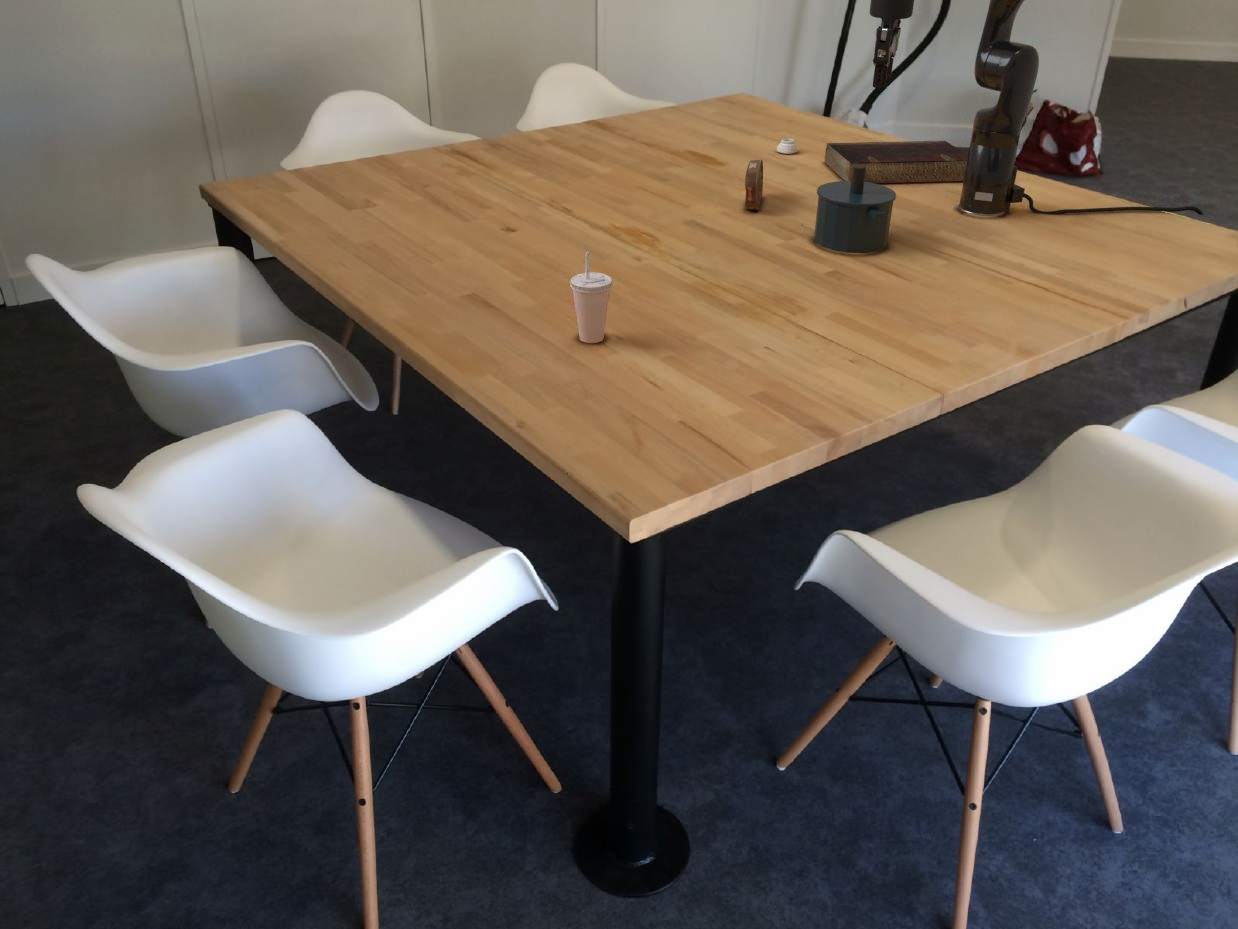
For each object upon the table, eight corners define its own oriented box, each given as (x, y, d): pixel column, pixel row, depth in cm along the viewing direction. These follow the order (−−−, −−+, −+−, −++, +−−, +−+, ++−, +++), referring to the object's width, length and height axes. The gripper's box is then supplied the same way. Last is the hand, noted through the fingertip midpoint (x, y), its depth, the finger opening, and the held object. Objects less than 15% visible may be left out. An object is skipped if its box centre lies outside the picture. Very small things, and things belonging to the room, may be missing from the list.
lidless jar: (801, 152, 261) (785, 148, 264) (802, 140, 259) (786, 136, 262) (788, 155, 258) (772, 151, 261) (789, 143, 256) (773, 139, 259)
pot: (857, 224, 214) (863, 177, 209) (907, 256, 198) (914, 206, 193) (796, 230, 210) (800, 183, 205) (841, 263, 195) (847, 212, 190)
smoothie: (570, 330, 168) (568, 245, 161) (610, 329, 169) (610, 244, 161) (572, 347, 163) (570, 259, 155) (613, 346, 163) (614, 258, 156)
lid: (870, 183, 207) (874, 153, 204) (910, 205, 196) (915, 173, 193) (803, 189, 204) (806, 158, 201) (839, 212, 192) (842, 180, 189)
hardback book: (941, 159, 256) (944, 138, 253) (972, 182, 240) (976, 159, 238) (824, 162, 253) (826, 141, 250) (847, 185, 237) (850, 162, 235)
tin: (756, 215, 218) (759, 174, 214) (741, 214, 219) (744, 173, 215) (763, 194, 231) (766, 155, 227) (748, 193, 232) (751, 154, 227)
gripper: (911, -7, 181) (897, 92, 189) (919, -17, 193) (906, 77, 201) (866, -9, 183) (855, 89, 191) (878, -19, 195) (866, 74, 203)
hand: (881, 83), depth 196 cm, fingers open, 8 cm apart
